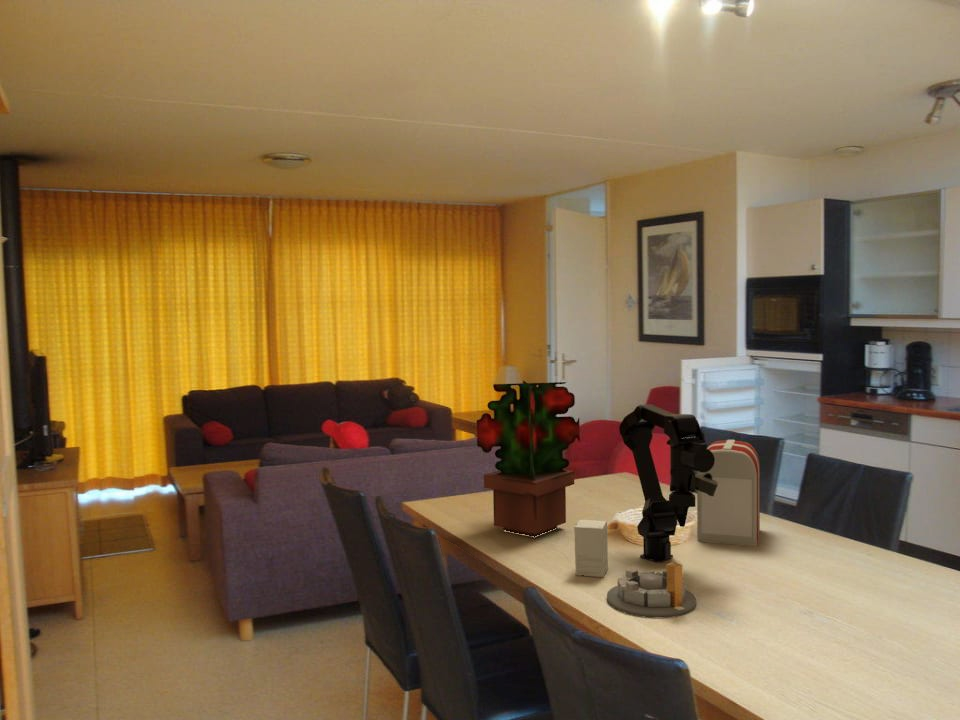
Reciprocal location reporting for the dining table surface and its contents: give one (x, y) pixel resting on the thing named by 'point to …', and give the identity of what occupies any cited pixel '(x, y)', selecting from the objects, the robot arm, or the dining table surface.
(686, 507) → the robot arm
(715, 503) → the red-striped tombstone block
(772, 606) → the dining table surface
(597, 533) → the supplement box
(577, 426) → the potted plant
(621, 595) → the grey stone ring wall
